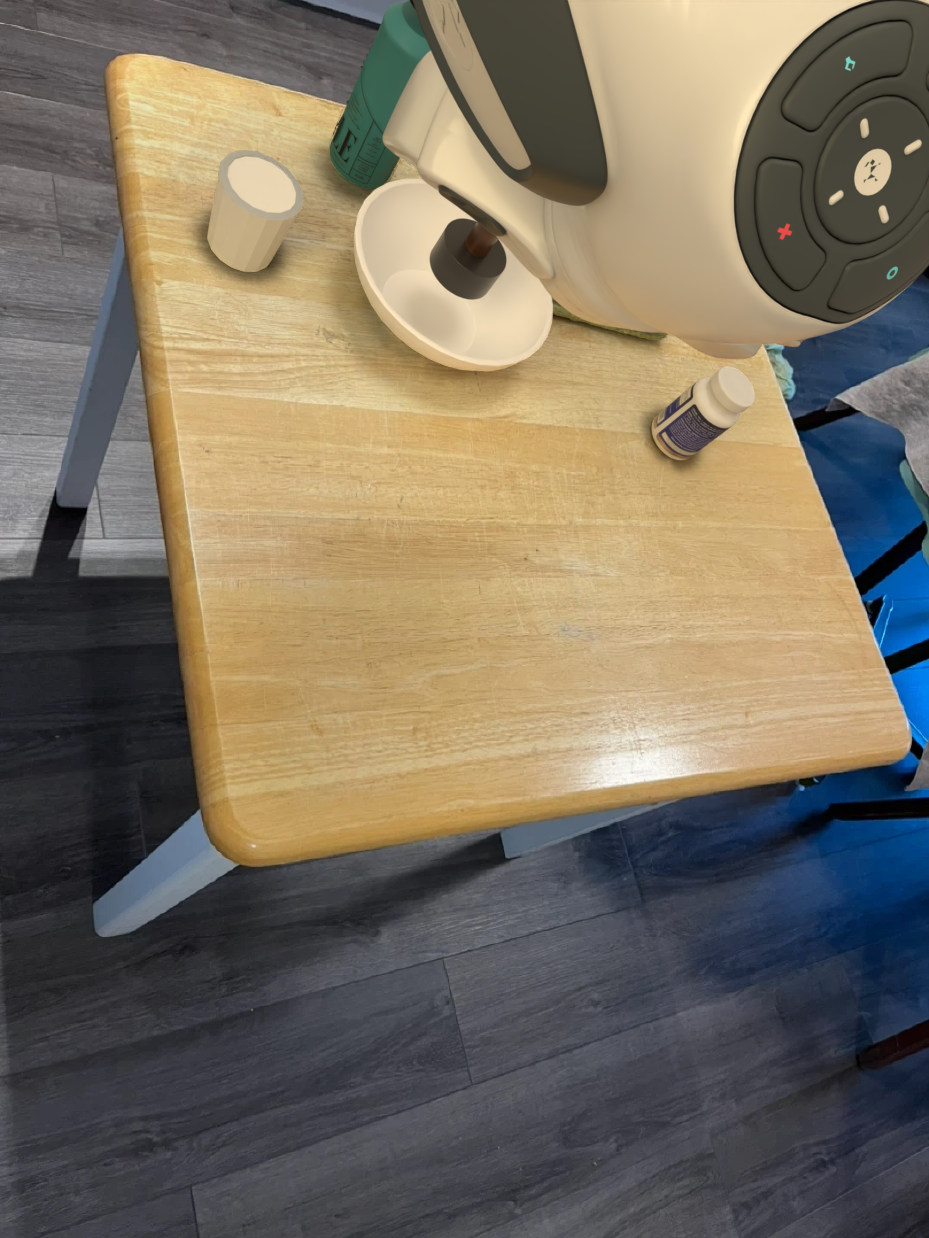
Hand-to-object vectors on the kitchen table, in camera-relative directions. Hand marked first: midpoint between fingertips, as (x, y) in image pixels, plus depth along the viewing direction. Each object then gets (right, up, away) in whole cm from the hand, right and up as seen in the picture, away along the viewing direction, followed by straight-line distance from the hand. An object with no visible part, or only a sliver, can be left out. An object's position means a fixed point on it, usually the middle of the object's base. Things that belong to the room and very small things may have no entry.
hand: (547, 230), depth 48 cm
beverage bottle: (-15, +21, +37) cm, 45 cm away
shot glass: (-24, +11, +27) cm, 38 cm away
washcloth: (+9, +15, +48) cm, 51 cm away
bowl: (-8, +7, +35) cm, 36 cm away
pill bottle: (+17, -2, +45) cm, 48 cm away
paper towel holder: (-5, +9, +29) cm, 31 cm away
